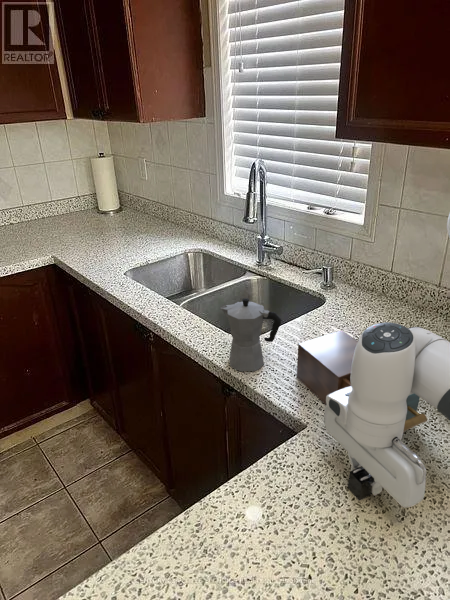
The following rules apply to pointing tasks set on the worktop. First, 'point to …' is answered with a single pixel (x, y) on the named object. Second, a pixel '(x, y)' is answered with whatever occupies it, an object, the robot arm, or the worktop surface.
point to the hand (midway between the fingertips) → (365, 481)
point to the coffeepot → (248, 333)
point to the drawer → (412, 405)
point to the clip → (359, 483)
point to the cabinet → (325, 362)
